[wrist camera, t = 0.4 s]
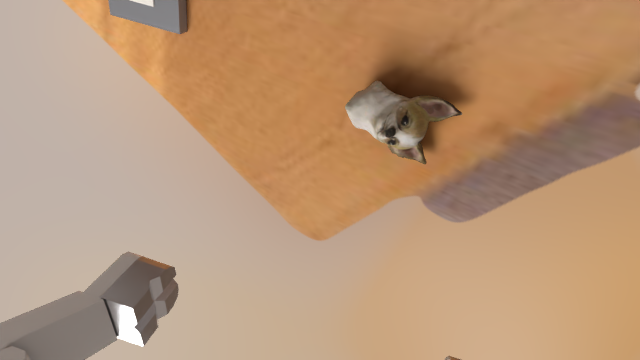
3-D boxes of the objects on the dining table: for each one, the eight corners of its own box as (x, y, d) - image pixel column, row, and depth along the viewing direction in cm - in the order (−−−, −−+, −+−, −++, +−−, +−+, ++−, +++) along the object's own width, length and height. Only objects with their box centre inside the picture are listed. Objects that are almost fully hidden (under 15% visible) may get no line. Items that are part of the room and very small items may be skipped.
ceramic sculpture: (361, 75, 44) (469, 128, 45) (369, 55, 51) (463, 101, 52) (327, 143, 51) (423, 188, 51) (338, 116, 58) (423, 157, 58)
